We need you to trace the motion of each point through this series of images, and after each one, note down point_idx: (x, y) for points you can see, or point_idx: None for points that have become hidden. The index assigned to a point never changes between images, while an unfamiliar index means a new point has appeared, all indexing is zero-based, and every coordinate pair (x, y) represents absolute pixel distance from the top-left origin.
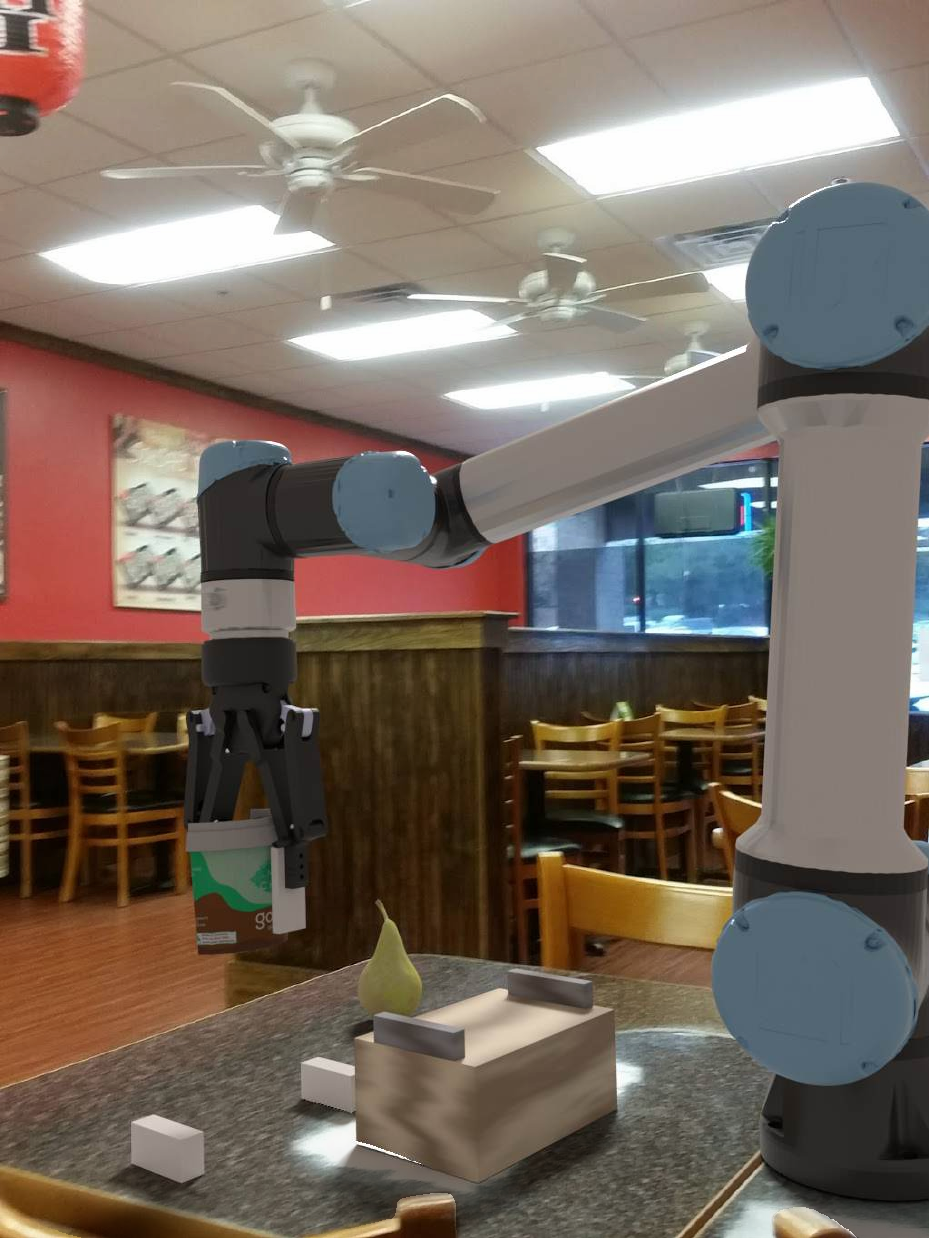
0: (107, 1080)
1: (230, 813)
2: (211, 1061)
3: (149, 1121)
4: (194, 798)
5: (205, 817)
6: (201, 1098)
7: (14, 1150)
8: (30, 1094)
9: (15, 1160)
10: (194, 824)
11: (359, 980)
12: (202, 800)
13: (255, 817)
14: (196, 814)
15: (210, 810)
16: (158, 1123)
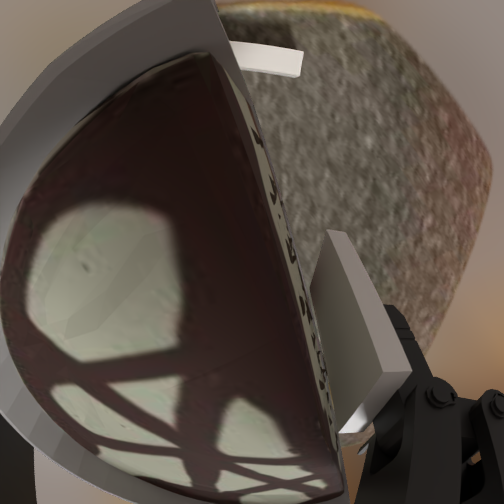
0: (446, 204)
1: (361, 494)
2: (393, 273)
3: (288, 60)
4: (502, 490)
5: (437, 448)
6: (351, 201)
7: (409, 48)
8: (478, 156)
9: (392, 31)
10: (109, 30)
11: (331, 396)
12: (474, 496)
13: (334, 499)
14: (481, 445)
15: (417, 482)
16: (275, 59)
